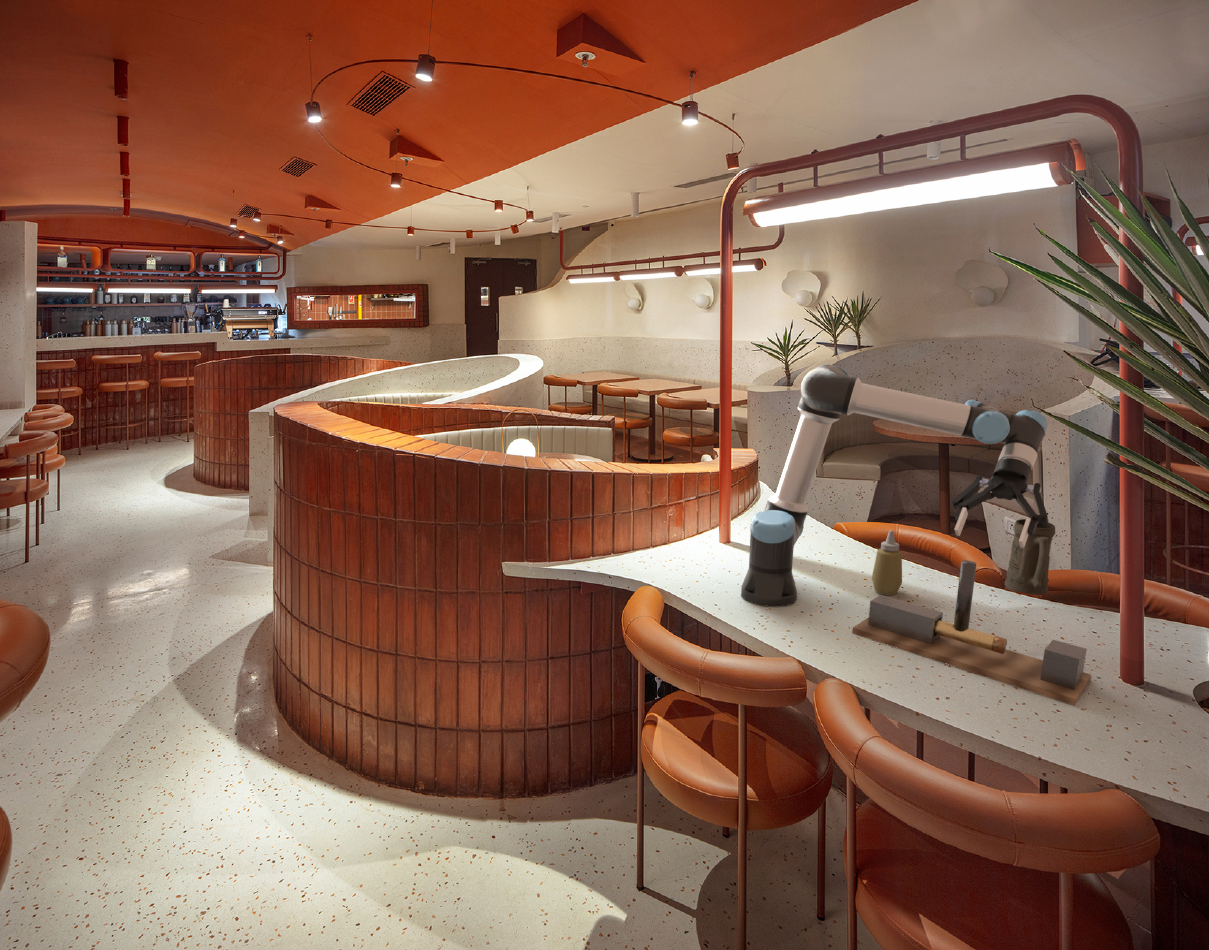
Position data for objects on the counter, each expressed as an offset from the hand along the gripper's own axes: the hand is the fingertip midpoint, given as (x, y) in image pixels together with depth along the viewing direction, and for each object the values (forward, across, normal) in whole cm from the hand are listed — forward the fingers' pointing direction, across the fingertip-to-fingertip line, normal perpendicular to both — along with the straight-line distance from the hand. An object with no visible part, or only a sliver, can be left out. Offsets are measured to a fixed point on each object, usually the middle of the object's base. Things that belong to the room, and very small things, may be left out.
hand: (988, 538), depth 157 cm
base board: (+26, 0, -10) cm, 28 cm away
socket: (+25, -19, -9) cm, 33 cm away
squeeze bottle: (+7, +29, -28) cm, 41 cm away
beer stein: (-14, 0, -50) cm, 52 cm away
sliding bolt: (+23, +5, -8) cm, 25 cm away
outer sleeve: (+24, +13, -9) cm, 29 cm away
